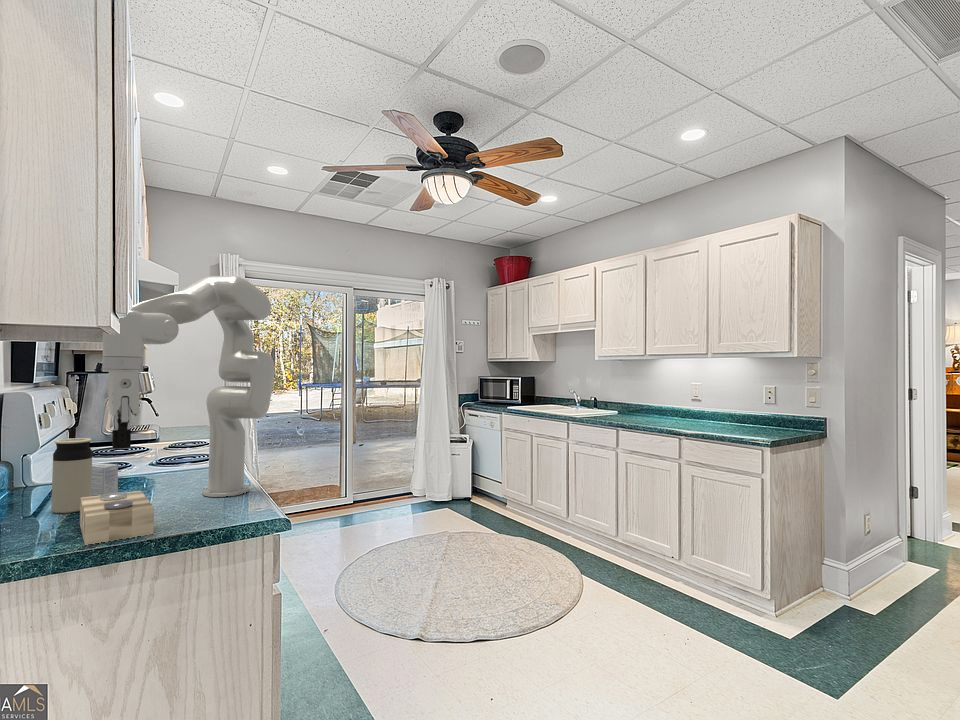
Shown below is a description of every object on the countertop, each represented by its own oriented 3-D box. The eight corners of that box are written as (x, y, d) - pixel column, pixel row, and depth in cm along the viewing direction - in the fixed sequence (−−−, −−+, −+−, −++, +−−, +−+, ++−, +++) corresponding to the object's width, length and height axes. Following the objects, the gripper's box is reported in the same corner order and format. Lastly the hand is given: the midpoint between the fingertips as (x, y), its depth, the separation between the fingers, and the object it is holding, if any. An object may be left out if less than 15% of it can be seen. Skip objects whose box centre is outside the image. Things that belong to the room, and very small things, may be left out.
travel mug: (87, 511, 131) (89, 440, 132) (47, 515, 128) (49, 442, 128) (93, 504, 138) (95, 437, 139) (55, 507, 135) (57, 438, 135)
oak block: (79, 523, 121) (80, 497, 121) (140, 514, 129) (140, 490, 129) (84, 545, 106) (85, 516, 106) (153, 534, 114) (153, 507, 114)
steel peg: (98, 522, 122) (99, 494, 122) (124, 518, 125) (125, 491, 125) (100, 527, 118) (101, 498, 118) (127, 523, 121) (128, 495, 121)
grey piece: (102, 532, 114) (103, 502, 114) (130, 528, 117) (131, 499, 118) (104, 538, 110) (105, 507, 110) (133, 533, 114) (134, 503, 114)
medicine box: (118, 494, 150) (119, 464, 150) (103, 497, 146) (104, 466, 146) (96, 492, 152) (97, 462, 152) (81, 495, 148) (82, 465, 148)
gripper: (148, 365, 112) (146, 450, 111) (138, 365, 123) (136, 442, 123) (105, 365, 107) (103, 454, 106) (99, 365, 118) (97, 445, 118)
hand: (121, 447), depth 115 cm, fingers closed
